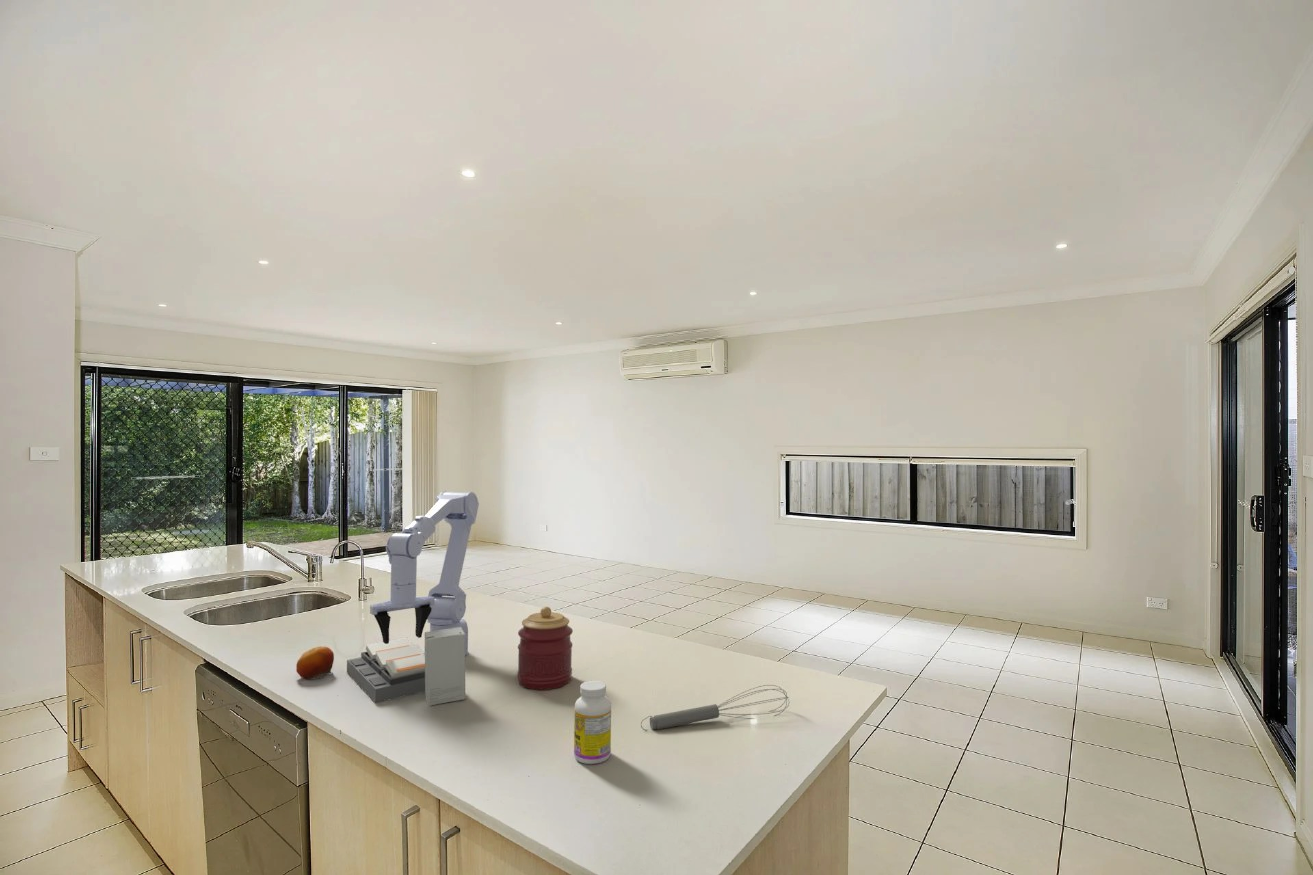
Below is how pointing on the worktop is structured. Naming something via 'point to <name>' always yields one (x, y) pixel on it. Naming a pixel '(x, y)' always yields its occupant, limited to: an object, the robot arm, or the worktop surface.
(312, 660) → the fruit
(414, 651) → the rocker middle
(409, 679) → the rocker switch panel
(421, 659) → the panel
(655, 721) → the kitchen whisk
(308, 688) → the worktop surface
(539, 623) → the canister
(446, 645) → the skincare box
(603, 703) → the supplement bottle
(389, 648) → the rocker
